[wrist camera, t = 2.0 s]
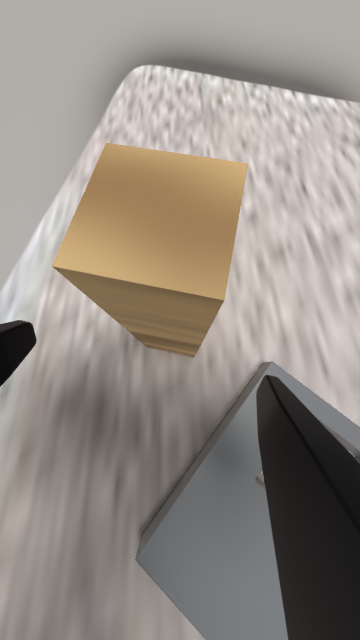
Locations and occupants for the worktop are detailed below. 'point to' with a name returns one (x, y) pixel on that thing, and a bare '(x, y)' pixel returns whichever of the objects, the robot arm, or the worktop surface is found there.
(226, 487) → the socket board
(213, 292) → the pin
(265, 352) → the worktop surface
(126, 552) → the worktop surface
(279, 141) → the worktop surface
